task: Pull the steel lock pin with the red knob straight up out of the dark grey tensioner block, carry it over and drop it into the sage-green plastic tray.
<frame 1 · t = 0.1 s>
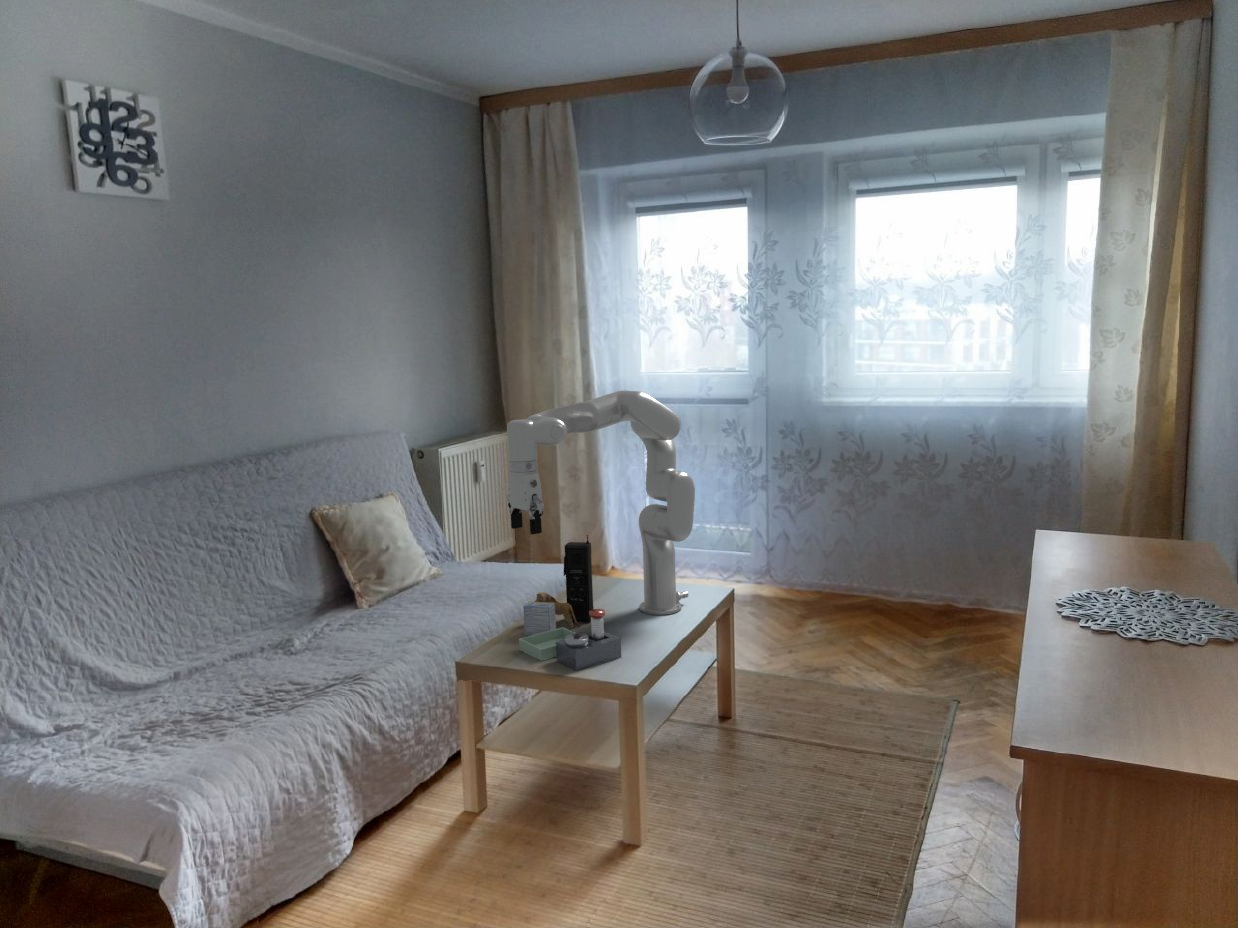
hand: (526, 530, 241), 31 cm above the table, tool pointing down, fingers open, 9 cm apart
lion figurine: (557, 625, 261), on the table
tensioner block: (589, 658, 233), on the table
medicine box: (540, 634, 253), on the table
lock pin: (598, 656, 235), resting in tensioner block
portable radio: (579, 620, 265), on the table
tray: (552, 648, 241), on the table
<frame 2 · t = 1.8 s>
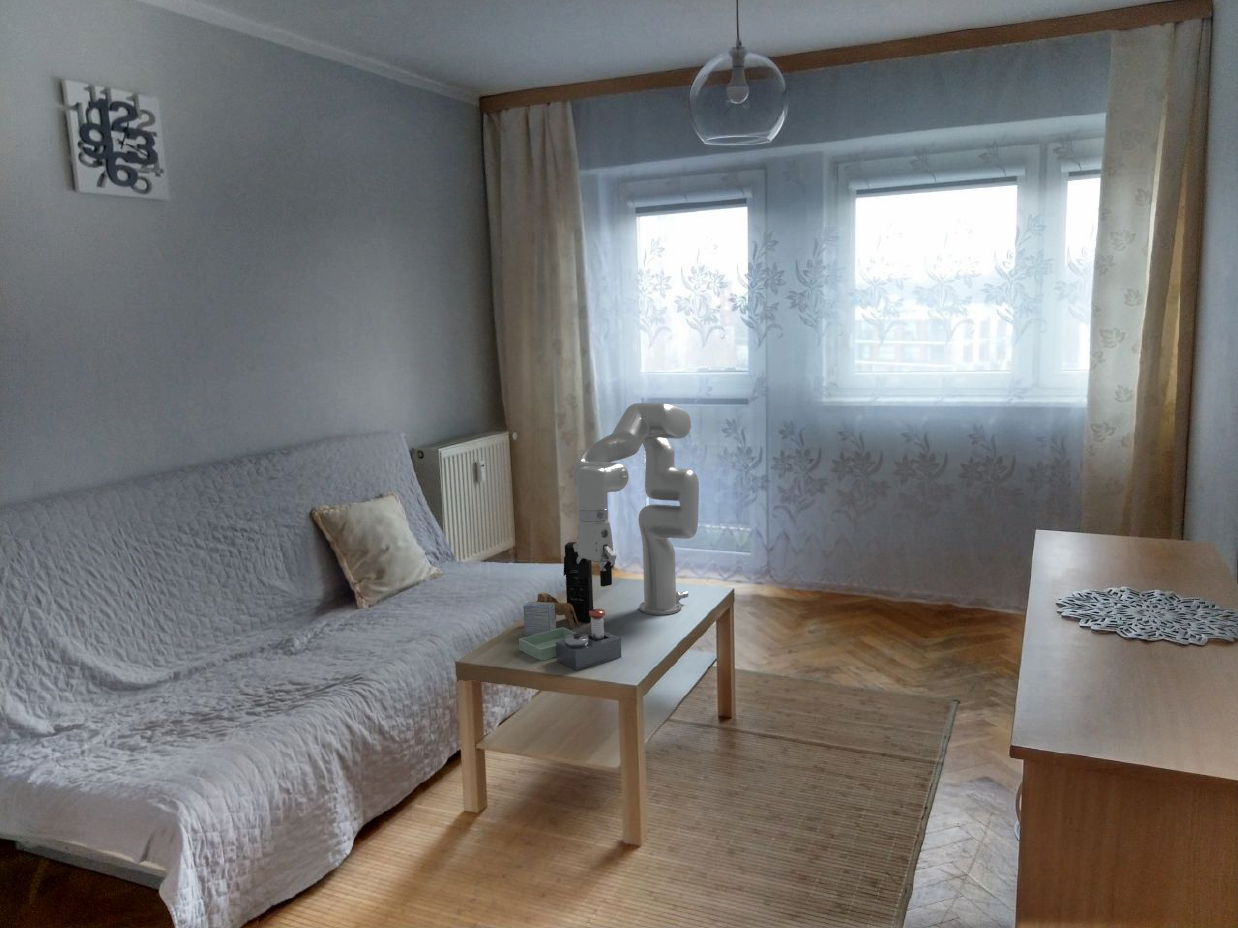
hand: (595, 581, 231), 20 cm above the table, tool pointing down, fingers open, 9 cm apart
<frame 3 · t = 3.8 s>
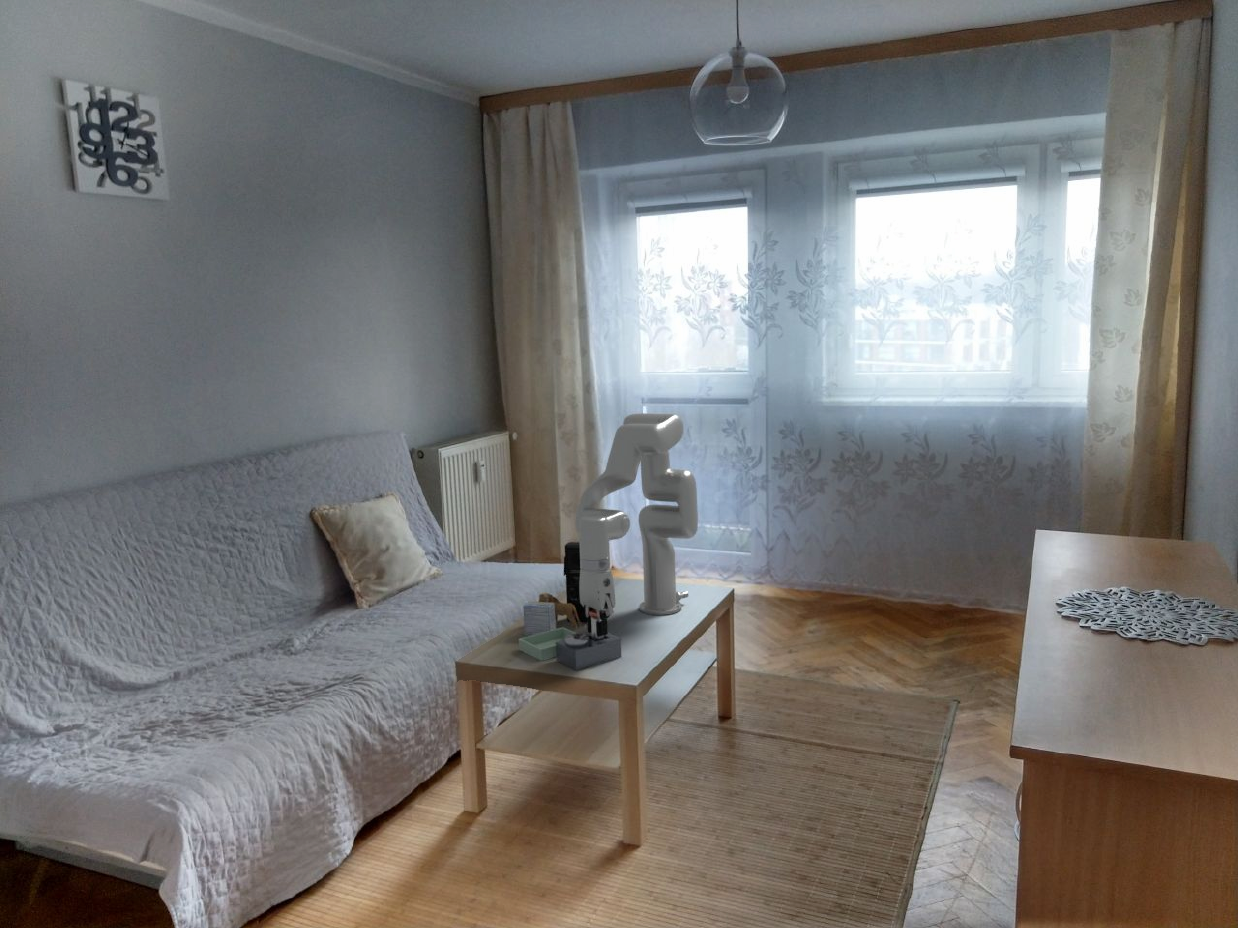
hand: (597, 632, 234), 6 cm above the table, tool pointing down, fingers closed on lock pin, 3 cm apart
lock pin: (598, 656, 235), resting in tensioner block, touching gripper
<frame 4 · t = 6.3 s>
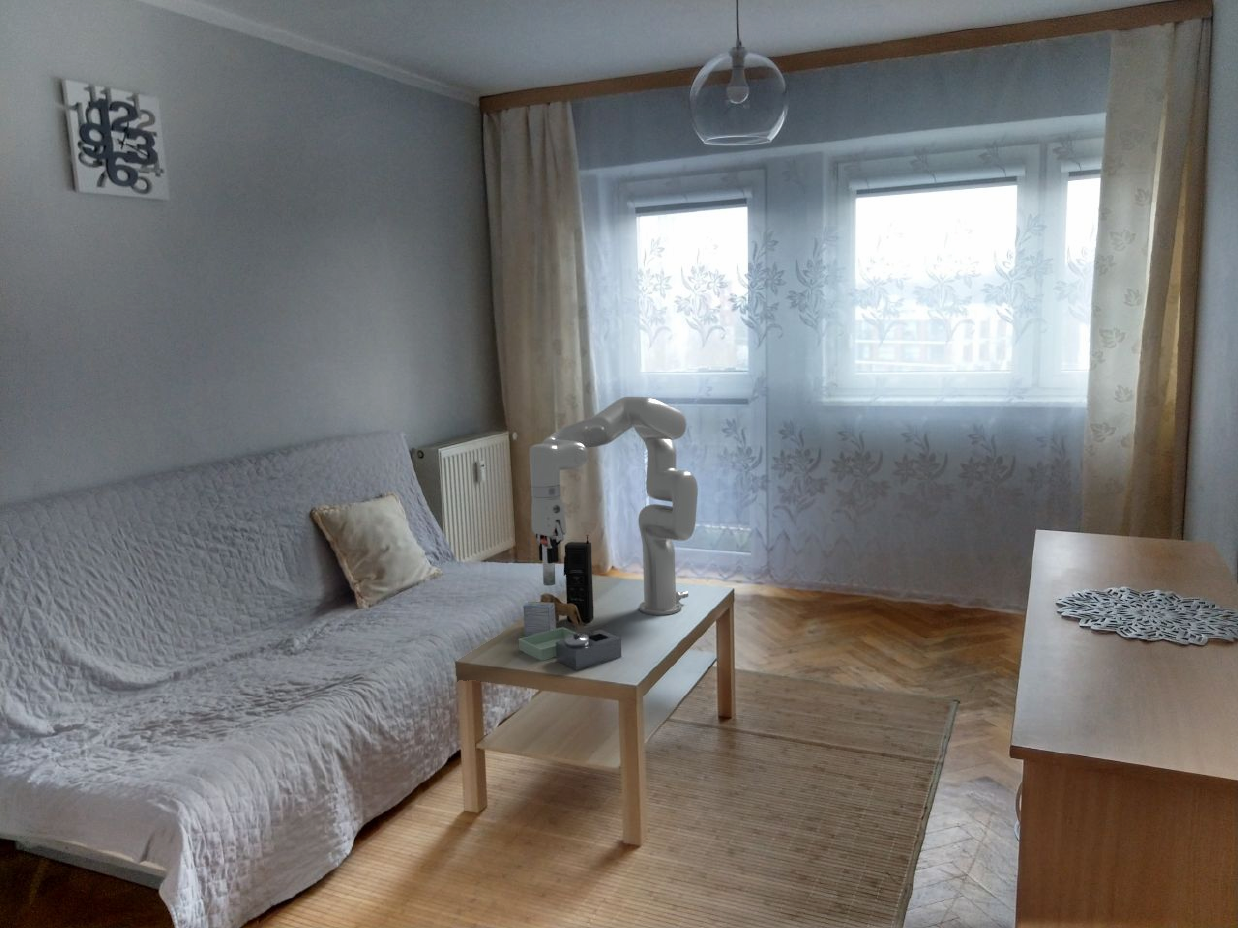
hand: (549, 560, 238), 24 cm above the table, tool pointing down, fingers closed on lock pin, 3 cm apart
lock pin: (549, 583, 238), point 18 cm above the table, touching gripper
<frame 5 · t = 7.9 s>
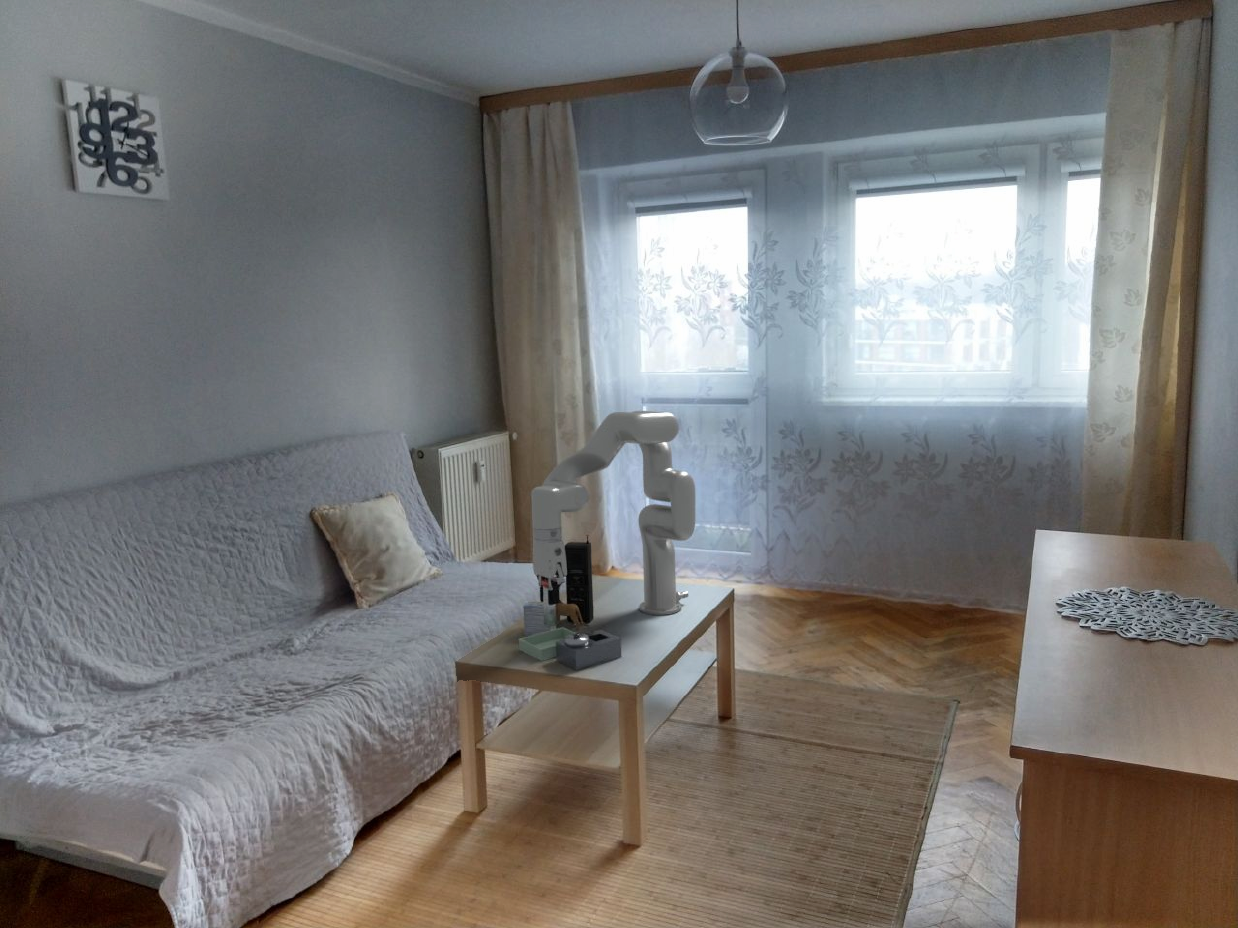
hand: (549, 601, 239), 13 cm above the table, tool pointing down, fingers closed on lock pin, 3 cm apart
lock pin: (549, 624, 240), point 7 cm above the table, touching gripper
when the fingers open (9 cm above the table, at t = 8.9 s): lock pin drops 2 cm, resting on tray.
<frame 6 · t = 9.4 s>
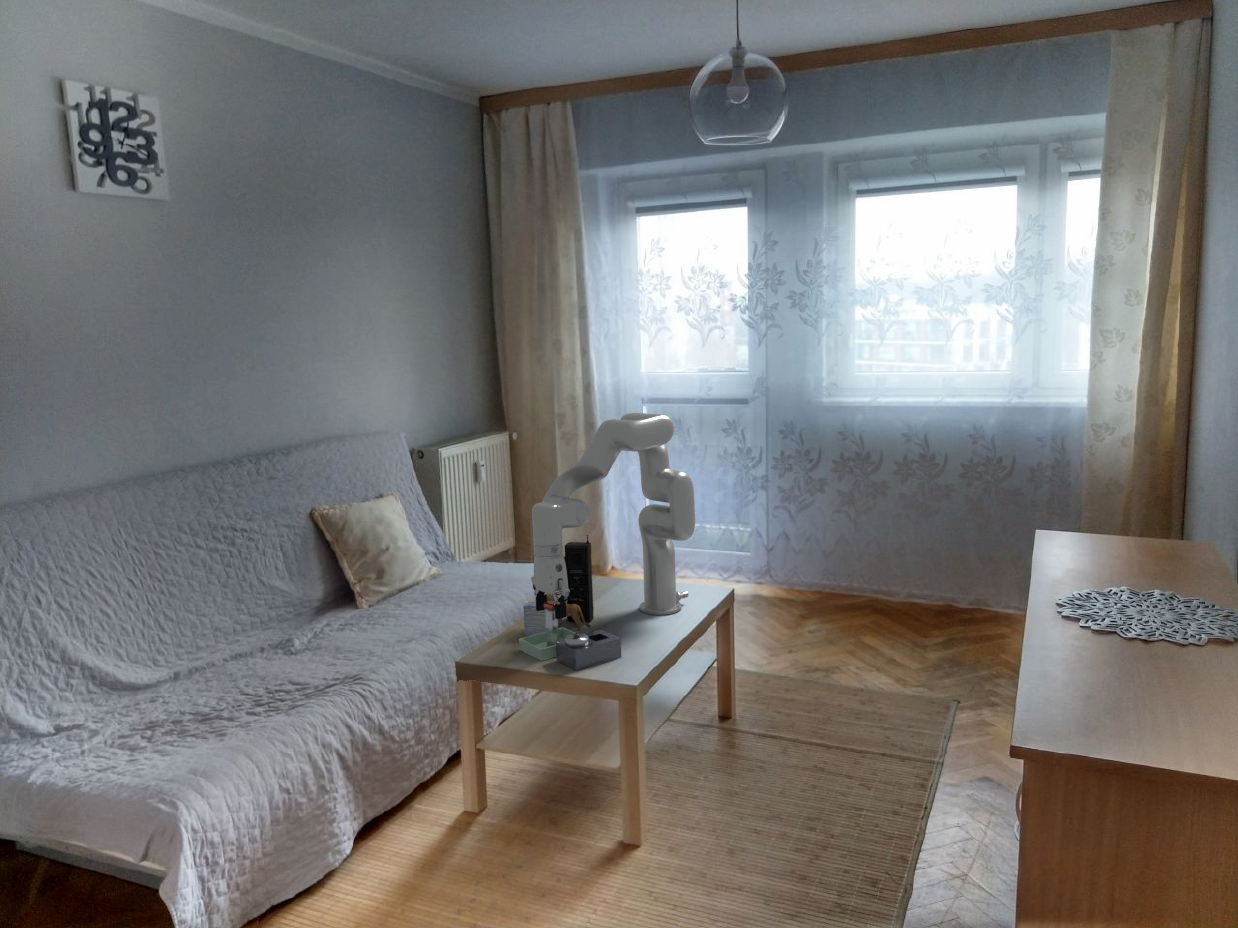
hand: (551, 613, 240), 10 cm above the table, tool pointing down, fingers open, 8 cm apart
lock pin: (552, 646, 241), point 1 cm above the table, touching tray
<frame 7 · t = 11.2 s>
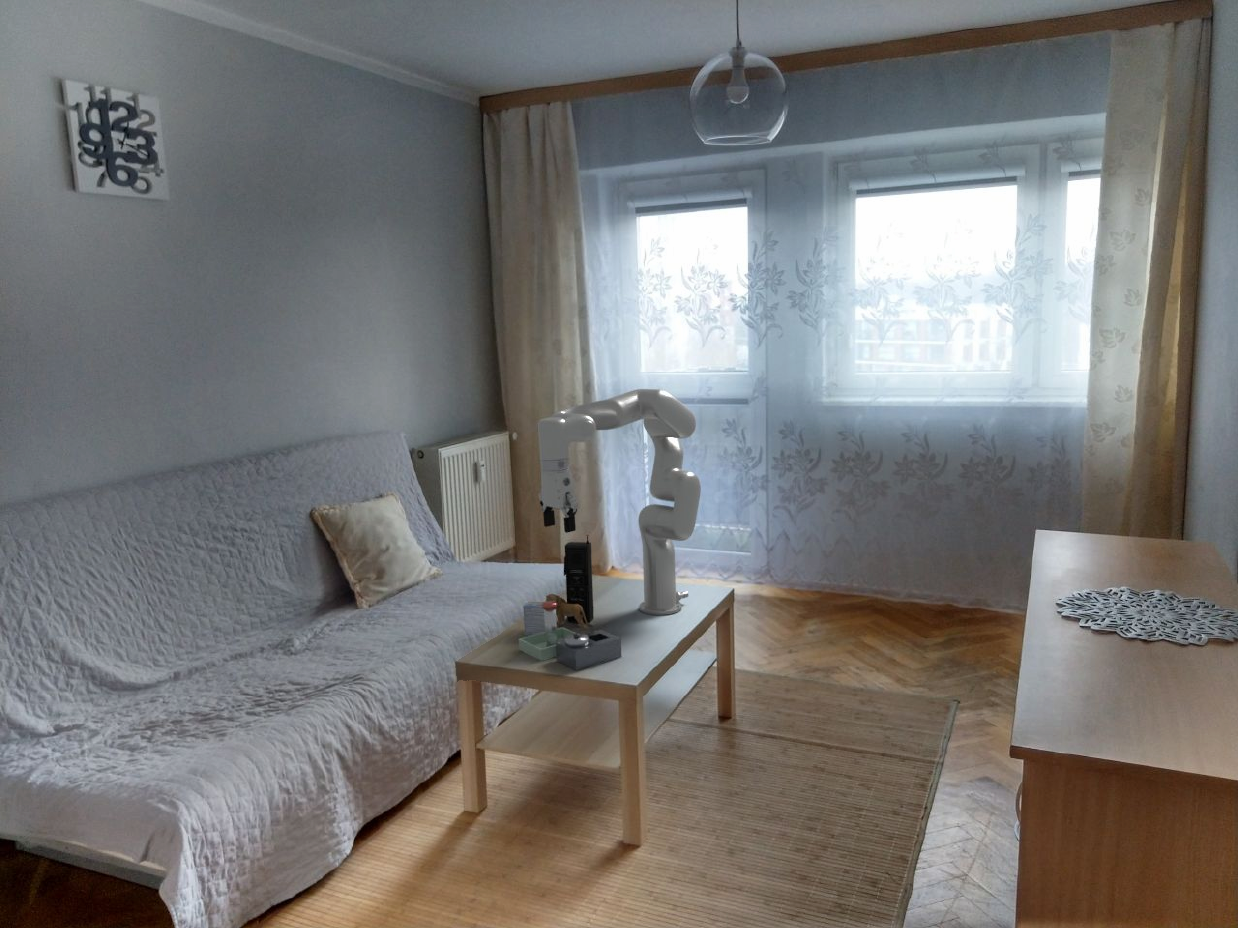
hand: (559, 528, 241), 31 cm above the table, tool pointing down, fingers open, 9 cm apart
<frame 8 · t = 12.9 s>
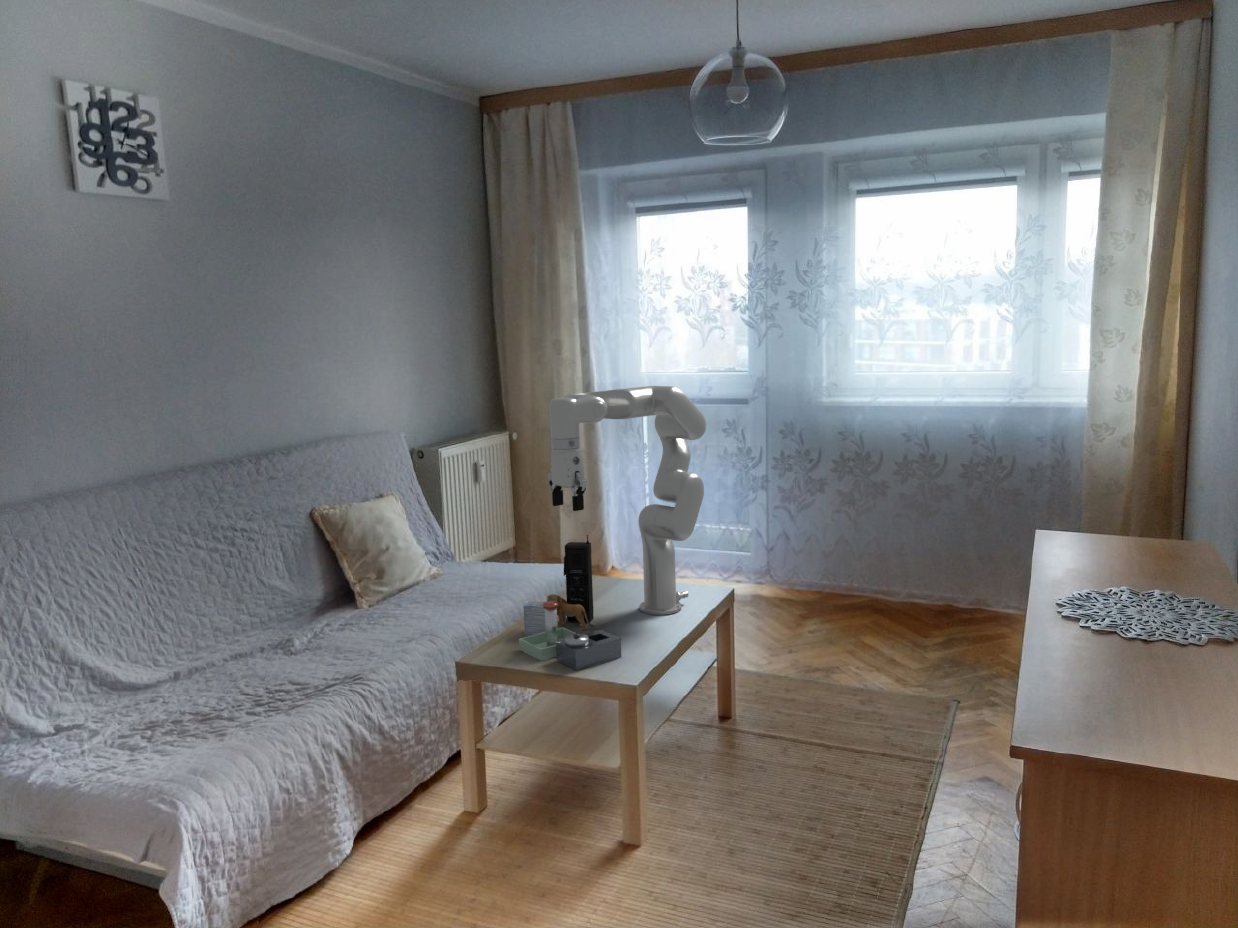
hand: (568, 507, 244), 36 cm above the table, tool pointing down, fingers open, 9 cm apart
at the end: lock pin inside the target area on the tray (0.1 cm from its centre), point 0.5 cm above the tray's base; the gripper is holding nothing; lock pin moved 14.0 cm from its start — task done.
